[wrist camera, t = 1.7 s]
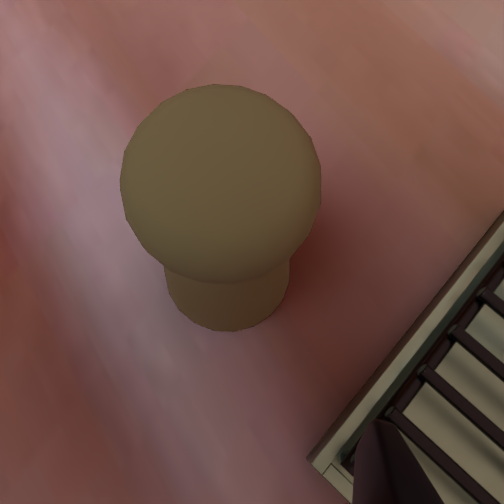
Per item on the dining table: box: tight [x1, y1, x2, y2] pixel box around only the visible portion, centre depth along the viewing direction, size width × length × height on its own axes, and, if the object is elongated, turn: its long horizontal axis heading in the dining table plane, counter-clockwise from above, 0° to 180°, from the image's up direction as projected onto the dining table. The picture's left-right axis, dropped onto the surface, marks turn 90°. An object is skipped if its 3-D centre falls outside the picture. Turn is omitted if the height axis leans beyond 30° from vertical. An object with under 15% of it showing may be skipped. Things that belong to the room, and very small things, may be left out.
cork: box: [120, 84, 321, 332], centre depth 14 cm, size 6×6×11 cm
